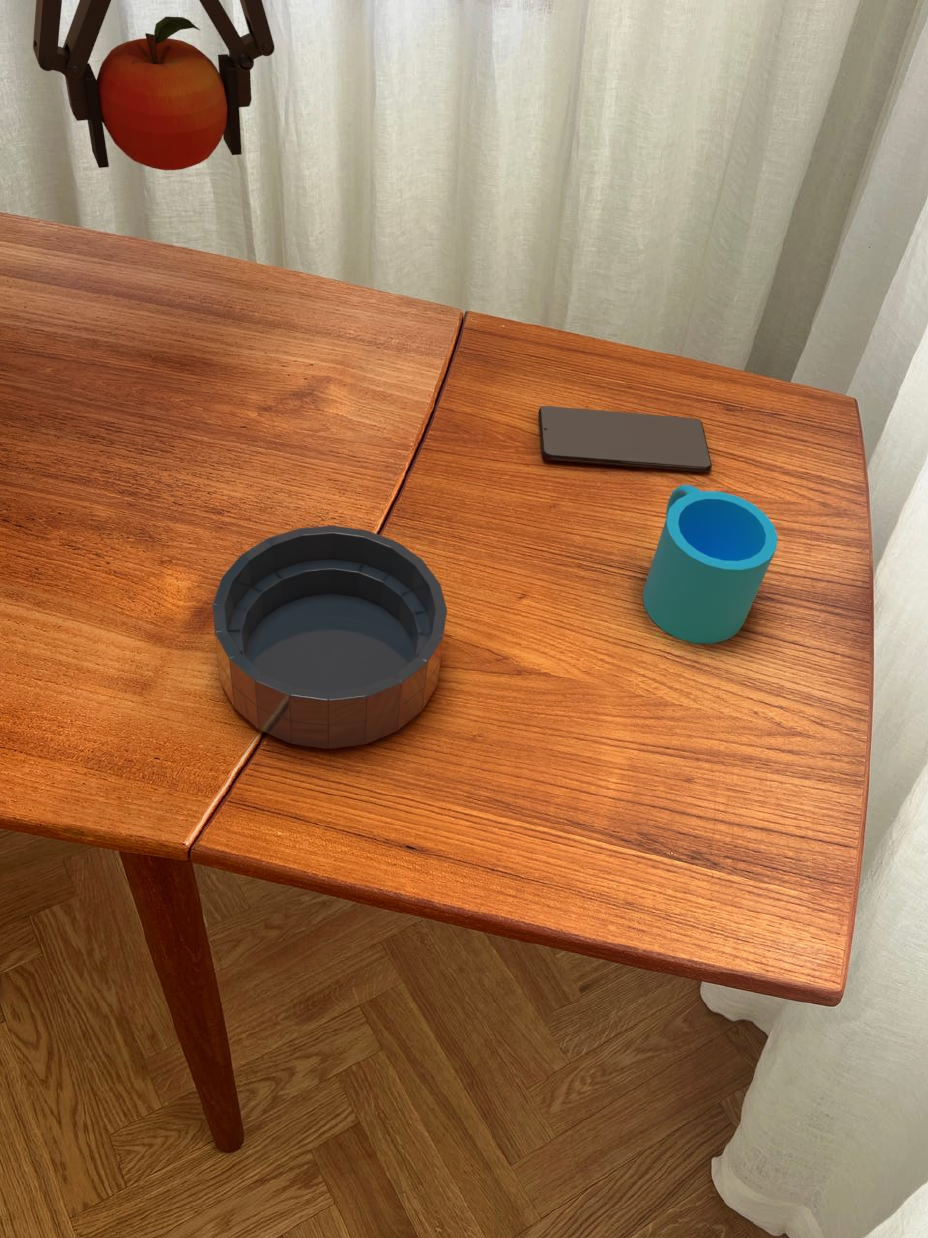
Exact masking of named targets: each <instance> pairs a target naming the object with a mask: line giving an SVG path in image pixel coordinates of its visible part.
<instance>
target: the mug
mask: <svg viewBox="0 0 928 1238" xmlns="http://www.w3.org/2000/svg"><path fill="white" fill-rule="evenodd" d="M665 511H666V512H665V521H664V524H663V527H662V530H661V534H660V537H659V540H658V543H657V546H656V549H655V551H654V554H653V558H652V562H651V564H650V568H649V571H648V574H647V578H646V579H645V583H644V587H643V591H642V596H641V597H642V601H643V606H644V610H645V612H646V613H647V614H648V616H649V618H650V619H651V621H652V622H653V623H654V624H656V626H658V627H659V628H660V629H661V630H662V631H663V632H665V633H667V634H669V635H671V636H673V637H674V638H676V639H678V640H681V641H685V642H688V643H693V644H700V645H701V644H702V645H704V644H705V645H712V644H713V645H714V644H717V643H721V642H725V641H728V640H729V639H731V638H732V637H734V636H736V635H737V634H738V633H739V631H741V629H742V627H743V625H744V624H745V622H746V621H747V618H748V615H749V613H750V610H751V608H752V606H753V604H754V602H755V599H756V597H757V594H758V593H759V590H760V587H761V585H762V583H763V581H764V578H765V576H766V573H767V572H768V569H769V567H770V564H771V562H772V560H773V558H774V556H775V553H776V551H777V546H778V539H779V537H778V534H777V530H776V527H775V525H774V523H773V522H772V521H771V519H770V518H769V517H768V515H767V514H766V512H764V511H762V510H761V508H759V507H757V506H756V505H755V504H754V503H752V502H750V501H748V500H746V499H744V498H743V497H740V496H738V495H734V494H732V493H727V492H724V491H723V492H722V491H715V490H714V491H712V490H701V489H699V488H698V487H696V486H694V485H691V484H690V485H689V484H681V485H679V486H678V487H676V488H675V489H673V490H672V492H671V494H670V496H669V498H668V500H667V505H666V510H665Z"/></svg>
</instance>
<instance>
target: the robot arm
mask: <svg viewBox="0 0 928 1238" xmlns="http://www.w3.org/2000/svg"><path fill="white" fill-rule="evenodd" d="M198 1H199V2H200V4H201V6H202V8H203V9H204V11H205V13H206V14H207V16H208V18H209V20H210V21H211V23H212V25H213V26H214V28H215V30H216V32H217V34H218V35H219V36H220V38H221V40H222V42H223V44H224V45H225V46H226V49H227V51H228V53H221V54H218V55H217V62H218V72H219V74H220V76H221V79H222V81H223V83H224V88H225V93H226V99H227V120H226V127H225V130H224V133H223V136H222V139H223V141H224V143H225V145H226V147H227V148H228V150H229V152H230V154H231V156H239V155H240V156H241V155H242V153H243V152H242V135H241V118H240V108H250V105H251V103H252V99H253V98H252V81H251V80H252V79H251V77H252V76H251V70H252V69H253V68H254V66H255V60H256V59H258V58H260V57H262V56H264V57H270V56H272V55H273V54H274V52H275V49H276V48H275V43H274V39H273V35H272V33H271V28H270V25H269V21H268V18H267V14H266V10H265V7H264V3H263V0H239V3H240V6H241V7H240V8H241V10H242V13H243V16H244V21H245V23H246V27H247V30H248V33H246V34H244V35H241V36H240V34H239V32H238V30H237V29H236V27H235V25H234V24H233V22H232V20H231V18H230V17H229V15H228V13H227V11H226V10H225V8H224V6H223V4H222V3H221V1H220V0H198ZM111 2H112V0H79V1H78V4H77V6H76V9H75V12H74V15H73V18H72V20H71V23H70V25H69V29H68V31H67V34H66V37H65V40H64V42H63V46H59V38H60V28H61V16H62V15H61V14H62V5H63V0H35V10H34V11H35V13H34V26H33V39H32V49H33V52H34V57H35V59H36V61H37V64H38V66H39V68H40V69H41V70H43V71H46V72H52V71H55V72H58V73H61V74H62V75H63V76H64V79H65V80H64V81H65V85H66V92H67V97H68V103H69V107H70V110H71V113H72V116H73V117H74V119H75V120H76V121H77V122H82V121H87V126H88V133H89V140H90V146H91V151H92V154H93V157H94V159H95V162H96V164H97V167H98V169H103V168H110V165H109V164H110V163H109V156H108V151H107V143H106V135H105V130H104V129H105V128H104V124H103V122H102V116H101V109H100V102H99V95H98V88H97V82H96V80H97V77H96V76H95V74H94V71H93V68H92V66H91V63H90V62H89V61H90V59H91V55H92V53H93V51H94V48H95V45H96V42H97V41H98V37H99V34H100V31H101V29H102V27H103V23H104V20H105V18H106V15H107V13H108V10H109V8H110V5H111Z"/></svg>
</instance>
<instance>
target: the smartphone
mask: <svg viewBox="0 0 928 1238" xmlns="http://www.w3.org/2000/svg"><path fill="white" fill-rule="evenodd" d="M537 413H538V415H537V416H538V427H539V439H540V450H541V456H542V458H543V459H545V460H547V461H554V462H567V463H581V464H593V465H605V466H606V465H607V466H616V467H617V466H618V467H630V468H642V469H643V468H644V469H655V470H656V469H657V470H666V471H667V470H668V471H683V472H693V473H694V472H695V473H708V472H711V470H712V467H713V464H712V460H711V455H710V451H709V448H708V442H707V437H706V433H705V429H704V424H703V421H702V420H700V419H699V418H695V417H684V416H673V415H659V414H650V413H649V414H647V413H636V412H623V411H612V410H598V409H589V408H588V409H587V408H575V407H574V408H573V407H563V406H554V405H553V406H551V405H542V406H540V407H539V409H538V412H537Z"/></svg>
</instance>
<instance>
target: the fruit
mask: <svg viewBox="0 0 928 1238" xmlns="http://www.w3.org/2000/svg"><path fill="white" fill-rule="evenodd" d="M189 29H196V30H197V31H201V29H200V27H199V28H198V27H197V26H196V25H195V24H194V23H193V22H192V21H191V20H190V19H188V18H186V17H182V16H165V17H162V18H161V19H160V20H159V21H158V22H156V23H155V27H154V31H153V34H152V33H147V32H146V33H145V32H144V35H145V37H144V38H143V37H142V38H137V39H133V40H128V41H126V42H123V43H121V44H118V45H116V46H115V47H114V48H112V49H111V50H110V51H109V52H108V54H107V55H106V56H105V58H104V59H103V61H102V62H101V64H100V67H99V70H98V73H97V77H96V82H97V88H98V95H99V102H100V109H101V116H102V122H103V127H104V128H105V130H106V131H107V133H108V135H109V136H110V138H111V139H112V141H113V143H114V145H116V146H117V147H118V148H119V150H121V151H122V152H123V153H124V155H126V156H127V157H128V158H129V159H130V160H132V161H133V162H136V163H137V164H141V165H142V166H145V167H147V168H148V167H149V168H152V169H155V170H161V171H180V170H185V169H188V168H191V167H194V166H197V165H199V164H201V163H203V162H204V161H206V160H208V159H209V158H210V156H211V155H212V154H213V153H214V152H215V150H216V149H217V147H218V146H219V144H220V142H221V141H222V139H223V133H224V130H225V127H226V120H227V99H226V93H225V88H224V83H223V81H222V79H221V76H220V74H219V69H218V68H217V66H216V65H215V64H214V62H213V61H212V59H210V58H209V57H208V56H207V55H206V54H205V53H203V51H202V50H200V49H198V48H197V47H196V46H194V45H193V44H191V43H188V42H186V41H184V40H182V39H175V38H170V37H171V36H172V35H175V34H176V33H178V32H180V31H181V30H182V31H183V30H189Z"/></svg>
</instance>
